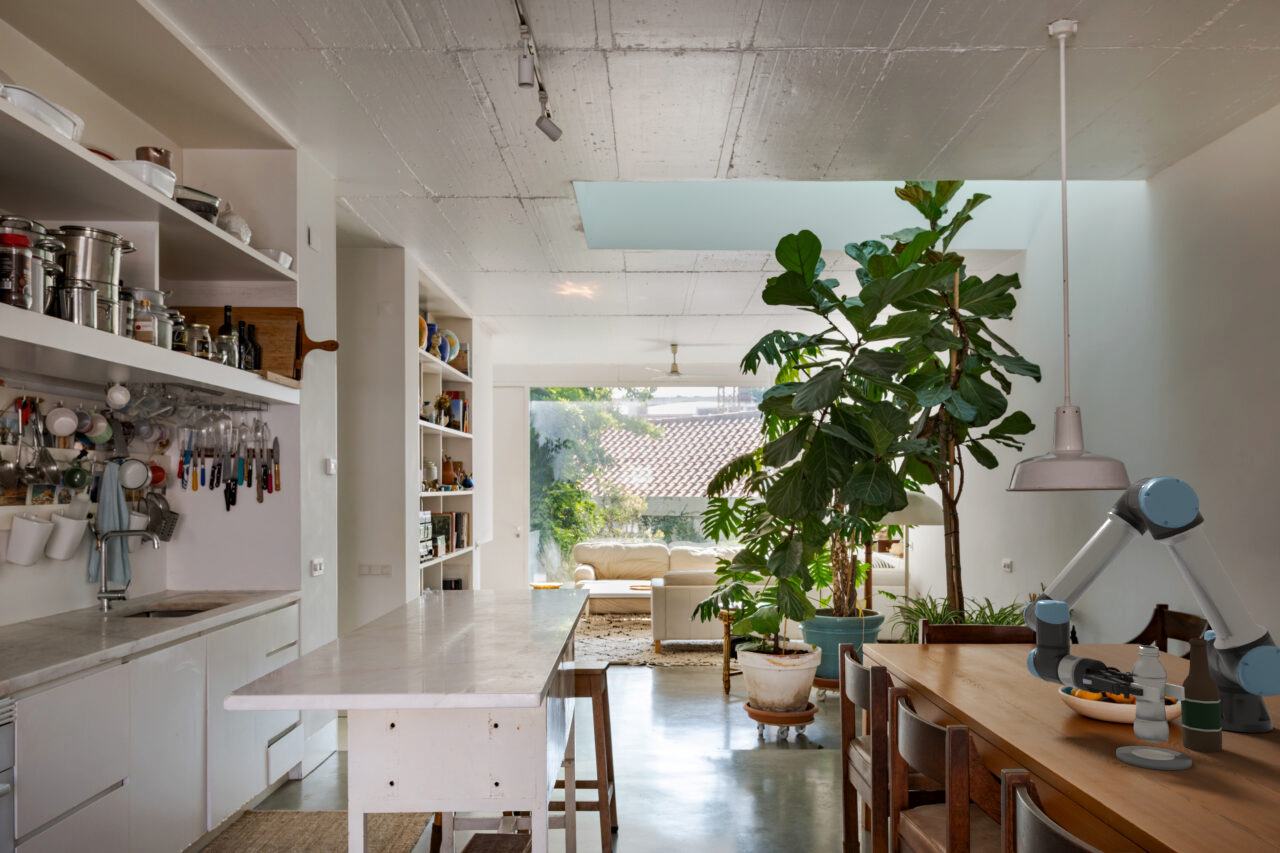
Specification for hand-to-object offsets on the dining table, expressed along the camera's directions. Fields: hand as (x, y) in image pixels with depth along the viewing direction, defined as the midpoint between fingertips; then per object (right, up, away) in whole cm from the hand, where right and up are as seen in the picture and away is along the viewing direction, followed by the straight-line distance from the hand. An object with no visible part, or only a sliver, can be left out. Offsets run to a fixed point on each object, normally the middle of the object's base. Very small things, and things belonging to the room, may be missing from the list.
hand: (1170, 694), depth 192 cm
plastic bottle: (-2, -11, +4) cm, 12 cm away
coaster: (-2, -15, +4) cm, 16 cm away
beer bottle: (+15, -16, +14) cm, 26 cm away
